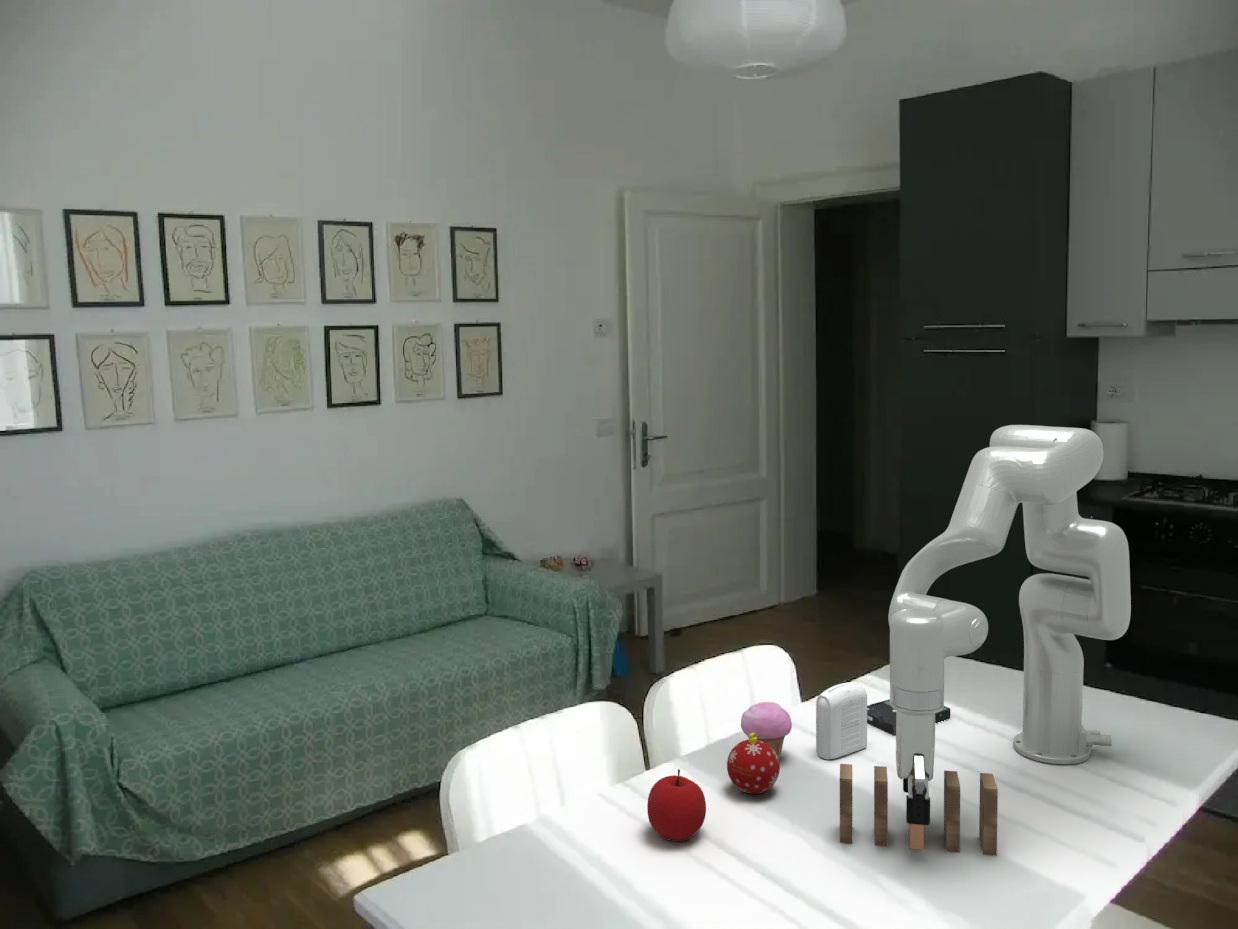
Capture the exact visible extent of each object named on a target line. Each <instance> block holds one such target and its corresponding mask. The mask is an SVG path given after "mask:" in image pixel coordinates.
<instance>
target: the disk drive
mask: <svg viewBox="0 0 1238 929" xmlns="http://www.w3.org/2000/svg"><path fill="white" fill-rule="evenodd" d="M896 712H897V710H896V709H894V708H893V707H891V705H890V698H889V699H886V700H882V701H878V702H874V703H871V704H867V725H870V726H872V727H874V728H876V729H878V730H880V731H882V732H884V733H887V734H890V735H891V736H893V737H896ZM949 718H950V719H951V707H947V706H945V705H944V709H943V710H942V711H940V712H938V713H935V723H936V724H939V723H938V722H940V723H942V722H941V721H943V722H945V721H944V720H946V719H949ZM946 721H947V720H946Z"/></svg>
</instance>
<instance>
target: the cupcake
mask: <svg viewBox="0 0 1238 929" xmlns="http://www.w3.org/2000/svg"><path fill="white" fill-rule="evenodd" d="M792 726H793V725H792V718H791V716H790V714H789V712H788V711H787V710H786V709H784V708H783V707H782V706H781V705H780V704H779V703H777V702H773V701H762V702H758V703H756V704H755V703H754V704H753V705H750V707H749V708H748V709H746V710H745V711H743V712H742V715H741V719H740V728H741V731H742V732H743V734H744V735H745V736H746V737H747V738H748V739H749V735H750V733H755V734H756V737H757V740H760V741H763V742H765V743H767V744H768V745H769V746H770V747H771V748H772V749H773V750H774V751H775V753H776V755H777V757H778V760H779V759H780V757H781V754H782V750H783V746H784V740H785V737H786V736H788V735H789V734H790V733H791V731H792V728H793V727H792ZM752 736H754V734H753V735H752Z"/></svg>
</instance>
